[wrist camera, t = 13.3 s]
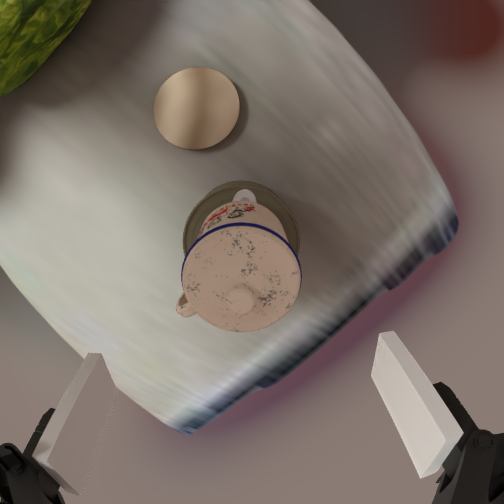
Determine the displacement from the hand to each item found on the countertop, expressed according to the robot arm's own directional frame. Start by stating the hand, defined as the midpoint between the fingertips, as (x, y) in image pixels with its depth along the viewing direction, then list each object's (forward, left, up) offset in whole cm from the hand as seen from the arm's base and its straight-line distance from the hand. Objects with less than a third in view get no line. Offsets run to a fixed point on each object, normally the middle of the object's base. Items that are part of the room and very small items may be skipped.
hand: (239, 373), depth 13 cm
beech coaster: (-4, +15, -26) cm, 30 cm away
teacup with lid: (-1, -1, -19) cm, 19 cm away
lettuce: (-24, +33, -26) cm, 48 cm away
